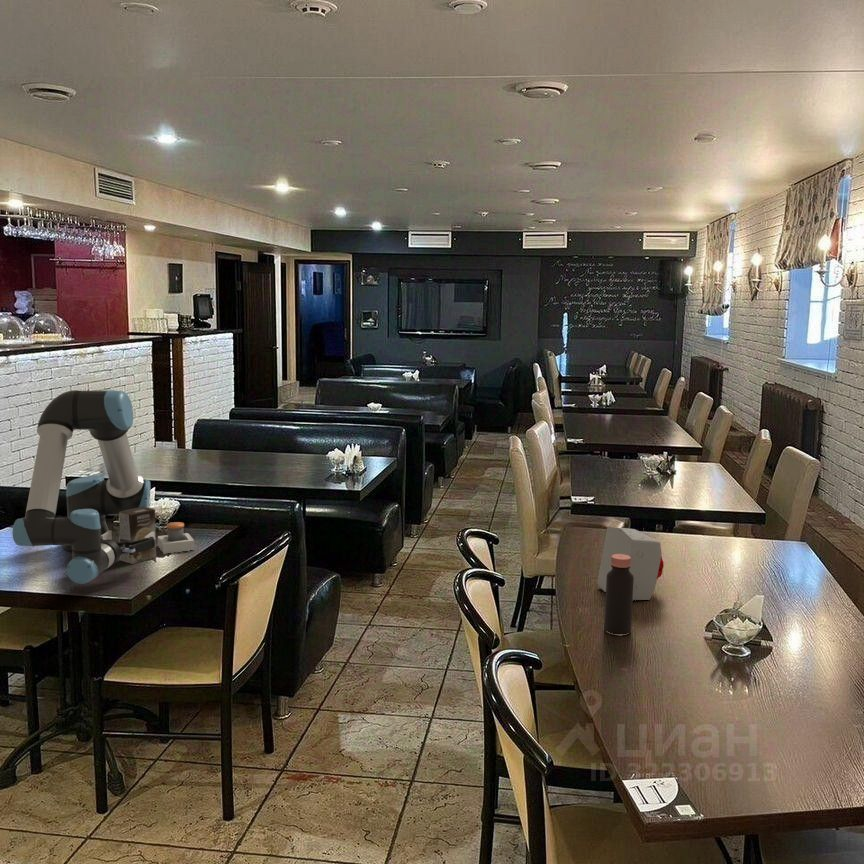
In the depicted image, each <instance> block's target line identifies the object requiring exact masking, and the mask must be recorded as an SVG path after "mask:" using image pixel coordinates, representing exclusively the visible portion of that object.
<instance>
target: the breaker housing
mask: <svg viewBox="0 0 864 864" xmlns="http://www.w3.org/2000/svg"><path fill="white" fill-rule="evenodd" d="M183 534H184V540H182V541H174V542H170V541H168V534H167V535H157V546H159V547H158V548H160V549H159V550H160V552H161V551H162V552H163V553H162V552H161V553H162V555H167V554H166V553H171V554H175V553H174V552H180V553H183V552H182V551H188V552H191V551H190V550H195V539H194V538H193V536H191V534H189V533H188V532H185V533H184V532H183Z"/></svg>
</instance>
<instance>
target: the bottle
mask: <svg viewBox="0 0 864 864" xmlns="http://www.w3.org/2000/svg"><path fill="white" fill-rule="evenodd" d="M630 566H631V557H630V556H628V555H625V554H614V555H612V556H611V567H612V570H611V571H609V572H608V574H607V578H606V593H605V602H604V603H605V604H604V620H603V621H604V622H603V630H604V629H605V631H608V632H610V633H613V634H627V633H630V634H631V633H632V620H633V619H632V617H633V616H632V615H633V601H634V600H633V583H634V577H633V575H632V574H631V572H630V571H629V568H630ZM605 631H604V632H605Z"/></svg>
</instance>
